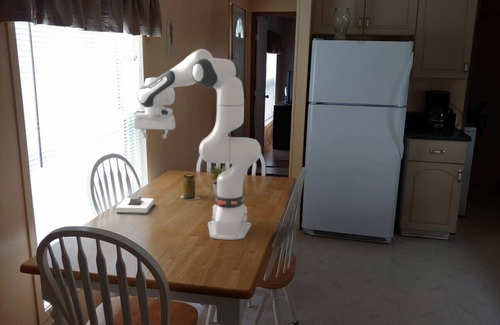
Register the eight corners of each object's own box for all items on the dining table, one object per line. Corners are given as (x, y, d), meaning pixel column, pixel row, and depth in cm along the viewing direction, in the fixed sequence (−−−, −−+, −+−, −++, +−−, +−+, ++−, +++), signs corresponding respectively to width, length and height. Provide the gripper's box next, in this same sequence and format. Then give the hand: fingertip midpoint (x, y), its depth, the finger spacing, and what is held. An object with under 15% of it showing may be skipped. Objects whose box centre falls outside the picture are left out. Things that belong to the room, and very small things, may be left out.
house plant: (229, 200, 226) (229, 169, 222) (203, 198, 229) (203, 167, 225) (235, 192, 240) (236, 162, 236) (211, 190, 242) (211, 161, 238)
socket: (146, 214, 205) (146, 208, 204) (116, 213, 205) (116, 207, 204) (153, 204, 218) (153, 198, 218) (125, 203, 218) (125, 197, 218)
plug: (138, 209, 209) (138, 199, 208) (130, 208, 209) (129, 198, 208) (141, 205, 214) (141, 195, 213) (133, 205, 214) (132, 195, 213)
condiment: (191, 194, 235) (191, 172, 232) (200, 198, 229) (200, 176, 226) (179, 196, 230) (179, 174, 228) (188, 201, 224) (188, 178, 221)
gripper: (131, 110, 215) (132, 138, 219) (173, 111, 215) (173, 139, 218) (134, 109, 221) (136, 136, 225) (175, 109, 221) (176, 137, 224)
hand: (154, 137), depth 222 cm, fingers open, 8 cm apart
